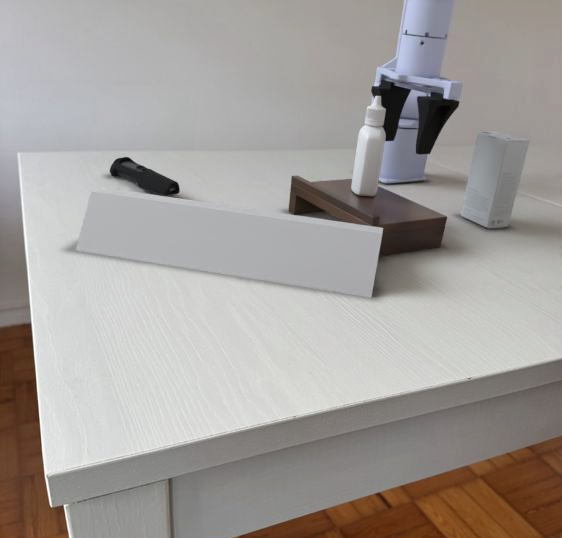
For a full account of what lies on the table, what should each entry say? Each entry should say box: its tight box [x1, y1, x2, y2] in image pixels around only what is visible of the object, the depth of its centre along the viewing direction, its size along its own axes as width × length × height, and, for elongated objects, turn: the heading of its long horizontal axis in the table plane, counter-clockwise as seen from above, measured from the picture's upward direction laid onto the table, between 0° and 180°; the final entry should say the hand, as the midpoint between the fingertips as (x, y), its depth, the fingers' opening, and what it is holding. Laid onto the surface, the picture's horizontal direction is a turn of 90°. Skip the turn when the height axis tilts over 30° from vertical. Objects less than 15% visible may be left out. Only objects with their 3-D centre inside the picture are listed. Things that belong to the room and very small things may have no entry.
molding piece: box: [75, 188, 383, 298], centre depth 70 cm, size 32×12×10 cm
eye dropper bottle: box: [351, 96, 386, 197], centre depth 78 cm, size 4×6×12 cm
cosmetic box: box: [460, 130, 530, 229], centre depth 84 cm, size 6×4×12 cm
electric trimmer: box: [109, 156, 181, 197], centre depth 87 cm, size 4×16×3 cm, turn 42°
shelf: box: [287, 175, 448, 257], centre depth 78 cm, size 12×18×5 cm, turn 31°
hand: (404, 147), depth 82 cm, fingers open, 7 cm apart
